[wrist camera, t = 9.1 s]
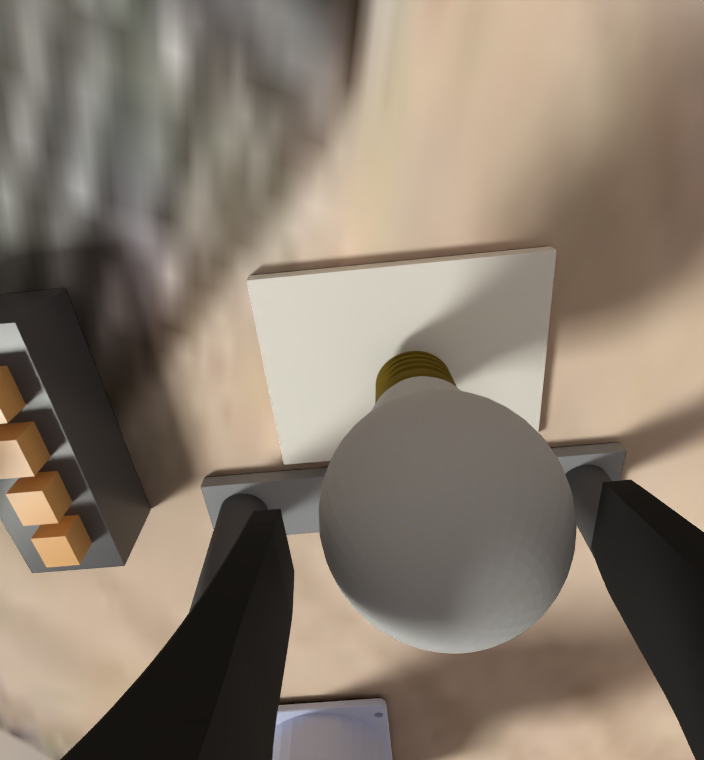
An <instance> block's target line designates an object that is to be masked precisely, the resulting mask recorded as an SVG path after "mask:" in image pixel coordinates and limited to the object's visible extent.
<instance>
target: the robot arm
mask: <svg viewBox="0 0 704 760" xmlns="http://www.w3.org/2000/svg"><path fill="white" fill-rule="evenodd" d="M591 550H592V553H593V555H594V558H595V561H596V563H597V566H598V568H599V571H600V573H601V576H602V578H603V580H604V583H605V585H606V588H607V590H608V592H609V594H610V596H611V598H612V600H613V602H614V604H615V605H616V607H617V609H618V611H619V613H620V614H621V616H622V618H623V620H624V622H625V624H626V625H627V627H628V629H629V631H630V633H631V634H632V636H633V638H634V640H635V642H636V643H637V645H638V647H639V649H640V651H641V652H642V654H643V656H644V658H645V660H646V661H647V663H648V665H649V667H650V668H651V670H652V672H653V674H654V676H655V677H656V679H657V681H658V683H659V685H660V686H661V688H662V690H663V692H664V694H665V695H666V697H667V699H668V701H669V703H670V705H671V707H672V709H673V711H674V713H675V715H676V717H677V719H678V721H679V723H680V726H681V728H682V730H683V732H684V735H685V737H686V739H687V741H688V744H689V746H690V748H691V750H692V753H693V755H694V757H695V759H696V760H704V532H703V531H701V530H700V529H699V528H697V527H696V526H694V525H693V524H692V523H690V522H689V521H687V520H686V519H685V518H683V517H682V516H681V515H679V514H678V513H676V512H675V511H674V510H672V509H671V508H670V507H668V506H667V505H666V504H664V503H663V502H661V501H660V500H659V499H657V498H656V497H655V496H653V495H652V494H650V493H649V492H648V491H646V490H645V489H644V488H642V487H641V486H639V485H638V484H636V483H635V482H634V481H632V480H621V481H609V482H603V484H602V489H601V495H600V500H599V506H598V511H597V517H596V522H595V527H594V533H593V538H592V544H591ZM293 591H294V568H293V563H292V559H291V554H290V550H289V545H288V541H287V536H286V531H285V527H284V522H283V518H282V513H281V509H271V510H259V511H254V512H253V513H252V514H251V515H250V516H249V518H248V520H247V522H246V524H245V525H244V527H243V529H242V531H241V533H240V534H239V536H238V538H237V540H236V541H235V543H234V545H233V546H232V548H231V550H230V551H229V553H228V555H227V556H226V558H225V560H224V561H223V563H222V565H221V566H220V568H219V569H218V571H217V572H216V574H215V576H214V577H213V579H212V580H211V582H210V583H209V585H208V586H207V588H206V590H205V591H204V593H203V594H202V595H201V597H200V598H199V600H198V601H197V603H196V604H195V605H194V607H193V608H192V610H191V611H190V612H189V614H188V615H187V617H186V618H185V619H184V621H183V622H182V624H181V625H180V626H179V628H178V629H177V631H176V632H175V633H174V634H173V636H172V637H171V638H170V640H169V641H168V642H167V644H166V645H165V646H164V647H163V649H162V650H161V651H160V652H159V654H158V655H157V656H156V657H155V659H154V660H153V661H152V662H151V663H150V665H149V666H148V667H147V668H146V669H145V671H144V672H143V673H142V674H141V675H140V677H139V678H138V679H137V680H136V681H135V682H134V683H133V684H132V686H131V687H130V688H129V689H128V690H127V691H126V692H125V693H124V695H123V696H122V697H121V698H120V699H119V700H118V701H117V702H116V704H115V705H114V706H113V707H112V708H111V709H110V710H109V711H108V712H107V713H106V714H105V715H104V716H103V718H102V719H101V720H100V721H99V722H98V723H97V724H96V725H95V726H94V727H93V728H92V729H91V730H90V731H89V732H88V733H87V734H86V735H85V736H84V737H83V738H82V739H81V740H80V741H79V742H78V743H77V744H76V745H75V746H74V747H73V748H72V749H71V750H70V751H69V752H68V753H67V754H66V755H65V756H64V757H62V758H61V759H60V760H393V758H392V749H391V740H390V731H389V722H388V713H387V704H386V701H385V700H383V699H380V698H374V699H360V700H345V701H331V702H316V703H302V704H288V705H279V700H280V693H281V687H282V680H283V674H284V668H285V661H286V655H287V648H288V642H289V635H290V628H291V621H292V612H293Z"/></svg>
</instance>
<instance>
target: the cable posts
mask: <svg viewBox="0 0 704 760" xmlns="http://www.w3.org/2000/svg"><path fill="white" fill-rule="evenodd" d="M551 449H552V451H553V452H554V454H555V455H556V457H557V458H558V460H559V462H560V464H561V466H562V468H563V470H564V473H565V475H566V478H567V480H568V483H569V486H570V488H571V492H572V496H573V501H574V508H575V514H576V525H577V527H578V528H579V530H580V532H581V534H582V536H583V538H584V539H585V541H586V543H587V545H588V547H589V549H590V550H591V544H592V538H593V533H594V527H595V522H596V517H597V511H598V506H599V500H600V495H601V489H602V484H603V482H609V481H620V479H621V475H622V470H623V465H624V460H625V455H626V450H625V449H624V448H623V447H622V445H621V444H620V443H619V442H618V443H606V444H594V445H582V446H571V447H559V448H551ZM327 468H328V467H323V468H311V469H300V470H288V471H276V472H264V473H252V474H241V475H229V476H217V477H205V478H204V479H203V482H202V485H201V490H202V493H203V497H204V500H205V503H206V506H207V509H208V513H209V516H210V519H211V522H212V525H213V529H214V531H213V534H212V538H211V541H210V544H209V548H208V551H207V554H206V558H205V561H204V564H203V568H202V571H201V574H200V578H199V581H198V585H197V588H196V591H195V595H194V598H193V601H192V605H191V608H190V611H191V610H192V608H193V607H194V605H195V604H196V603H197V601H198V600H199V598H200V597H201V595H202V594H203V593H204V591H205V590H206V588H207V586H208V585H209V583H210V582H211V580H212V579H213V577H214V576H215V574H216V572H217V571H218V569H219V568H220V566H221V565H222V563H223V561H224V560H225V558H226V556H227V555H228V553H229V551H230V550H231V548H232V546H233V545H234V543H235V541H236V540H237V538H238V536H239V534H240V533H241V531H242V529H243V527H244V525H245V524H246V522H247V520H248V518H249V516H250V515H251V514H252V513H253V512H254V511H259V510H271V509H281V513H282V518H283V522H284V527H285V531H286V535H290V534H303V533H315V532H320V530H319V500H320V494H321V488H322V483H323V479H324V476H325V473H326V471H327ZM591 552H592V550H591ZM592 554H593V553H592ZM593 556H594V555H593ZM190 611H189V612H190Z"/></svg>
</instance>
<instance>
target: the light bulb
mask: <svg viewBox="0 0 704 760" xmlns="http://www.w3.org/2000/svg"><path fill="white" fill-rule="evenodd" d="M375 388H376V391H375V393H376V395H375V398H376V399H375V405H374V407H373V409H372V411H371V412H369V413H368V414H367V415H366V416H365V417H363V418H362V419H361V420H360V421H359V422H358V423H356V424H355V425H354V427H353V428H352V429H351V430H350V431H349V432H348V433H347V435H346V436H345V437H344V438H343V440H342V441H341V443H340V444H339V446H338V448H337V449H336V451H335V452H334V454H333V456H332V458H331V460H330V463H329V466H328V468H327V471H326V473H325V476H324V479H323V483H322V488H321V494H320V500H319V530H320V538H321V543H322V546H323V550H324V554H325V558H326V561H327V564H328V566H329V569H330V571H331V573H332V575H333V577H334V579H335V581H336V583H337V585H338V586H339V588H340V590H341V591H342V593H343V594H344V596H345V597H346V598H347V599H348V601H349V602H350V603H351V605H352V606H353V607H354V608H355V609H356V610H357V612H359V613H360V614H361V615H362V616H363V617H364V618H365V619H366V620H367V621H368V622H370V623H371V624H372V625H373V626H374V627H376V628H377V629H379V630H380V631H382V632H383V633H385V634H386V635H388V636H390V637H392V638H393V639H395V640H398V641H400V642H402V643H404V644H406V645H409V646H412V647H415V648H419V649H422V650H426V651H431V652H438V653H449V654H455V653H470V652H476V651H481V650H485V649H489V648H492V647H495V646H497V645H500V644H502V643H505V642H507V641H509V640H511V639H513V638H514V637H516V636H518V635H520V634H521V633H522V632H524V631H525V630H527V629H528V628H529V627H531V626H532V625H533V624H534V623H535V622H536V621H537V620H538V619H539V618H540V617H541V616H542V615H543V614H544V613H545V612H546V611H547V610H548V608H549V607H550V606H551V604H552V603H553V602H554V600H555V599H556V597H557V596H558V594H559V592H560V590H561V588H562V586H563V584H564V582H565V580H566V578H567V576H568V573H569V570H570V566H571V563H572V560H573V555H574V551H575V540H576V514H575V508H574V501H573V496H572V492H571V488H570V486H569V483H568V480H567V478H566V475H565V473H564V470H563V468H562V466H561V464H560V462H559V460H558V458H557V457H556V455H555V454H554V452H553V451H552V449H551V448H550V446H549V445H548V443H547V442H546V441H545V439H544V438H543V437H542V436H541V435H540V434H539V433H538V432H537V431H536V430H535V429H534V428H533V427H532V426H531V425H530V424H529V423H528V422H527V421H526V420H525V419H523V418H522V417H520V416H519V415H518V414H516V413H515V412H513V411H512V410H510V409H509V408H507V407H505V406H504V405H502V404H499V403H497V402H495V401H493V400H491V399H489V398H486V397H483V396H480V395H476V394H473V393H469V392H464V391H461V390H460V389H459V388H457V386H456V384H455V382H454V380H453V378H452V376H451V374H450V372H449V370H448V367H447V366H446V365H445V363H444V362H443V361H442V360H441V359H439V358H438V357H436V356H435V355H432V354H430V353H427V352H423V351H408V352H404V353H401V354H398V355H396V356H394V357H393V358H391V359H390V360H388V361H387V362H386V363H385V364H384V365H383V367H382V368H381V370H380V371H379V373H378V375H377V379H376V387H375Z"/></svg>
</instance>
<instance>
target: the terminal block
mask: <svg viewBox="0 0 704 760" xmlns="http://www.w3.org/2000/svg"><path fill="white" fill-rule="evenodd" d="M150 510H151V509H150V507H149V504H148V502H147V499H146V496H145V494H144V491H143V489H142V486H141V483H140V481H139V478H138V476H137V473H136V470H135V468H134V465H133V463H132V460H131V457H130V455H129V452H128V450H127V447H126V444H125V442H124V439H123V437H122V434H121V432H120V429H119V426H118V424H117V421H116V419H115V416H114V413H113V411H112V408H111V406H110V403H109V400H108V398H107V395H106V393H105V390H104V387H103V385H102V382H101V380H100V377H99V374H98V372H97V369H96V367H95V364H94V361H93V359H92V356H91V354H90V351H89V348H88V346H87V343H86V341H85V338H84V335H83V333H82V330H81V328H80V325H79V322H78V320H77V317H76V315H75V312H74V309H73V307H72V304H71V302H70V299H69V296H68V294H67V291H66V289H65V288H59V289H49V290H39V291H29V292H19V293H9V294H0V519H1V521H2V522H3V524H4V526H5V527H6V529H7V531H8V533H9V534H10V536H11V538H12V539H13V541H14V543H15V545H16V546H17V548H18V550H19V551H20V553H21V555H22V557H23V558H24V560H25V562H26V563H27V565H28V567H29V569H30V570H31V572H32V573H41V572H53V571H66V570H78V569H91V568H104V567H116V566H125V564H126V562H127V559H128V557H129V555H130V553H131V551H132V549H133V547H134V544H135V542H136V540H137V538H138V536H139V534H140V532H141V529H142V527H143V525H144V523H145V521H146V519H147V517H148V514H149V512H150Z"/></svg>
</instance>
